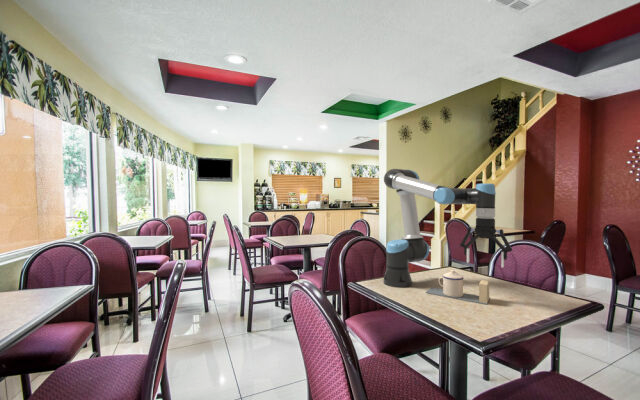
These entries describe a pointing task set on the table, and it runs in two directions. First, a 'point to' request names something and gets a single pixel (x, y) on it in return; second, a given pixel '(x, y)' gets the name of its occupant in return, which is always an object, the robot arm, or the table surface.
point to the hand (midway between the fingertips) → (484, 264)
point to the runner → (480, 299)
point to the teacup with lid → (452, 284)
